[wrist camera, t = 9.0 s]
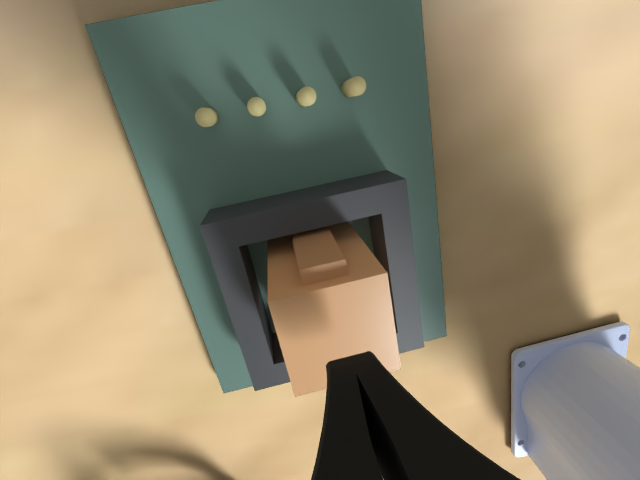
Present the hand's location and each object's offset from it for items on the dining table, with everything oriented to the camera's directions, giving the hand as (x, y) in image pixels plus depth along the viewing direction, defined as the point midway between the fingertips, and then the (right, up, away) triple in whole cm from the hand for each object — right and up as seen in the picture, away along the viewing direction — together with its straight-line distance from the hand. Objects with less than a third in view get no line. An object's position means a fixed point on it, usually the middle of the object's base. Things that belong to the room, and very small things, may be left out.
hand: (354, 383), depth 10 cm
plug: (-1, +3, +7) cm, 8 cm away
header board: (-2, +6, +7) cm, 9 cm away
